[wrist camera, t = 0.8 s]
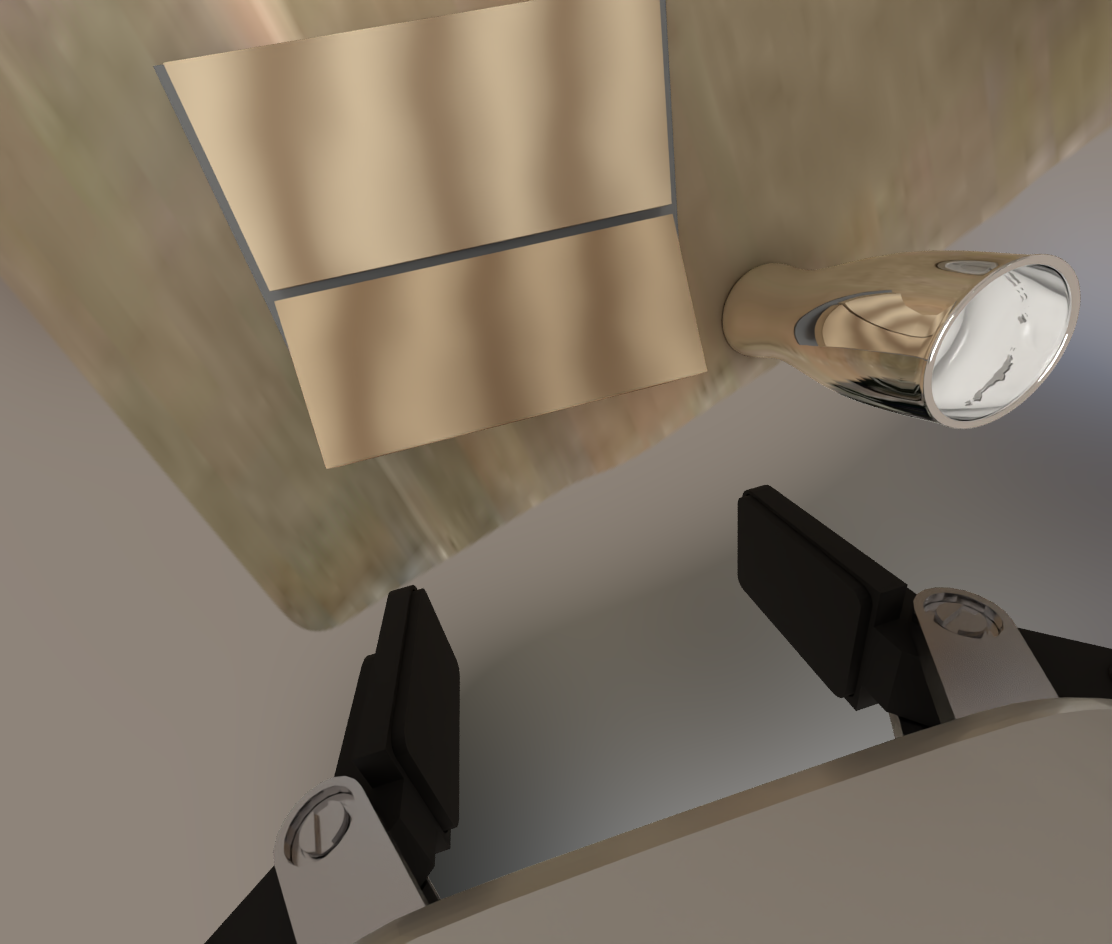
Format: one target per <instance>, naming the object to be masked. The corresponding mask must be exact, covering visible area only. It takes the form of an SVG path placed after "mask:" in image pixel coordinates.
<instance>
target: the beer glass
mask: <svg viewBox="0 0 1112 944" xmlns="http://www.w3.org/2000/svg"><path fill="white" fill-rule="evenodd" d="M1079 309H1080V286H1079V281H1078V278H1077V276H1076V274H1075V272H1074V270H1073V269H1072V267H1071V266H1070V265H1069V264H1068V263H1067V262H1066V261H1064V260H1063V259H1061V258H1059V257H1056V256H1053V255H1048V254H1034V255H1026V254H1010V253H997V252H996V253H995V252H979V251H940V250H931V251H916V252H901V253H894V254H888V255H882V256H876V257H870V258H865V259H861V260H857V261H852V262H848V263H843V264H839V265H835V266H831V267H827V268H822V269H817V270H803V269H799V268H796V267H793V266H790V265H786V264H782V263H767V264H763V265H760V266H757V267H755V268H753V269H751V270H750V271H748V272H747V273H746V274H744V275H743V276H742V277H741V278H740V279H739V280H738V281H737V283H736V284H735V285H734V287H733V288H732V290H731V291H730V293H729V295H728V297H727V300H726V303H725V306H724V310H723V317H722V325H723V331H724V335H725V338H726V340H727V342H728V343H729V345H730V346H731V347H732V348H733V349H734V350H735V351H737V352H738V353H740V354H742V355H745V356H749V357H759V358H776V359H779V360H782V361H784V362H786V363H788V364H789V365H791V366H793V367H794V368H796V369H797V370H799V371H800V372H802V373H803V374H805V375H807V376H808V377H810V378H811V379H813V380H815V381H816V382H818V383H819V384H821V385H823V386H825V387H827V388H829V389H831V390H833V391H834V392H836V393H838V394H840V395H843V396H845V397H848V398H850V399H853V400H856V401H858V402H861V403H863V404H867V405H870V406H873V407H876V408H880V409H883V410H886V411H890V412H894V413H898V414H901V415H905V416H910V417H914V418H918V419H923V420H927V421H931V422H935V423H939V424H942V425H944V426H947V427H951V428H956V429H969V428H975V427H978V426H982V425H985V424H988V423H990V422H993V421H995V420H997V419H999V418H1001V417H1002V416H1004V415H1006V414H1007V413H1009V412H1010V411H1012V410H1013V409H1015V408H1016V407H1017V406H1019V405H1020V404H1021V403H1022V402H1024V401H1025V400H1026V399H1027V398H1028V397H1029V396H1030V395H1031V394H1032V393H1033V392H1034V391H1035V390H1036V389H1037V388H1038V387H1039V386H1040V385H1041V384H1042V383H1043V382H1044V380H1045V379H1046V378H1047V377H1048V376H1049V374H1050V373H1051V371H1052V370H1053V369H1054V367H1055V366H1056V364H1057V363H1058V361H1059V360H1060V358H1061V357H1062V355H1063V353H1064V351H1065V349H1066V348H1067V345H1068V343H1069V341H1070V339H1071V337H1072V334H1073V332H1074V329H1075V326H1076V323H1077V319H1078V314H1079Z"/></svg>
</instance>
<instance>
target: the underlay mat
mask: <svg viewBox="0 0 1112 944" xmlns="http://www.w3.org/2000/svg"><path fill="white" fill-rule="evenodd" d="M660 15H661V32H662V49H663V65H664V82H665V99H666V116H667V133H668V150H669V167H670V184H671V201H672V204H669V205H666V206H662V207H658V208H653V209H649V210H644V211H640V212H635V213H630V214H626V215H621V216H617V217H612V218H608V219H603V220H598V221H594V222H589V223H585V224H580V225H575V226H571V227H566V228H562V229H557V230H552V231H548V232H543V233H539V234H534V235H529V236H525V237H520V238H516V239H511V240H506V241H502V242H497V243H493V244H488V245H484V246H479V247H474V248H470V249H465V250H461V251H456V252H451V253H447V254H442V255H438V256H433V257H428V258H424V259H419V260H415V261H410V262H405V263H401V264H396V265H392V266H387V267H382V268H378V269H373V270H369V271H364V272H360V273H355V274H350V275H346V276H341V277H337V278H332V279H327V280H323V281H318V282H314V283H309V284H304V285H300V286H295V287H291V288H286V289H281V290H275V291H269V289H268V286H267V284H266V282H265V280H264V278H263V276H262V274H261V271H260V269H259V267H258V265H257V263H256V261H255V259H254V256H253V254H252V252H251V250H250V248H249V246H248V244H247V242H246V239H245V237H244V235H243V233H242V231H241V229H240V227H239V224H238V222H237V220H236V218H235V216H234V214H233V212H232V209H231V207H230V205H229V203H228V201H227V199H226V197H225V195H224V192H223V190H222V188H221V186H220V184H219V182H218V180H217V177H216V175H215V173H214V171H213V169H212V167H211V165H210V162H209V160H208V158H207V156H206V154H205V152H204V150H203V148H202V145H201V143H200V141H199V139H198V137H197V135H196V133H195V130H194V128H193V126H192V124H191V122H190V120H189V118H188V115H187V113H186V111H185V109H184V107H183V105H182V103H181V101H180V98H179V96H178V94H177V92H176V90H175V88H174V86H173V83H172V81H171V79H170V77H169V75H168V73H167V71H166V68H165V66H164V64H163V65H157V66H153V67H154V69H155V71H156V73H157V75H158V77H159V80H160V82H161V84H162V86H163V88H164V90H165V92H166V94H167V96H168V98H169V100H170V103H171V105H172V107H173V109H174V111H175V113H176V115H177V117H178V119H179V121H180V123H181V126H182V128H183V130H184V132H185V134H186V136H187V138H188V140H189V142H190V144H191V147H192V149H193V151H194V153H195V155H196V157H197V159H198V161H199V163H200V165H201V167H202V170H203V172H204V174H205V176H206V178H207V180H208V182H209V184H210V186H211V188H212V191H213V193H214V195H215V197H216V199H217V201H218V203H219V205H220V207H221V209H222V211H223V214H224V216H225V218H226V220H227V222H228V224H229V226H230V228H231V230H232V232H233V235H234V237H235V239H236V241H237V243H238V245H239V247H240V249H241V251H242V253H243V255H244V258H245V260H246V262H247V264H248V266H249V268H250V270H251V272H252V274H253V276H254V279H255V281H256V283H257V285H258V287H259V289H260V291H261V293H262V295H263V297H264V299H265V302H266V304H267V306H268V308H269V310H270V312H271V314H272V316H273V318H274V320H275V323H276V325H277V327H278V329H279V331H280V333H281V335H282V337H283V339H284V341H285V343H286V346H287V348H288V350H289V347H288V344H287V341H286V338H285V334H284V331H283V328H282V325H281V322H280V318H279V315H278V312H277V309H276V306H275V302H274V301H278V300H282V299H287V298H292V297H296V296H301V295H305V294H310V293H314V292H319V291H323V290H328V289H332V288H337V287H342V286H346V285H351V284H355V283H360V282H364V281H369V280H373V279H378V278H383V277H387V276H392V275H396V274H401V273H405V272H410V271H414V270H419V269H423V268H428V267H433V266H437V265H442V264H446V263H451V262H455V261H460V260H464V259H469V258H474V257H478V256H483V255H487V254H492V253H496V252H501V251H505V250H510V249H514V248H519V247H524V246H528V245H533V244H537V243H542V242H546V241H551V240H555V239H560V238H565V237H569V236H574V235H578V234H583V233H587V232H592V231H596V230H601V229H605V228H610V227H615V226H619V225H624V224H628V223H633V222H637V221H642V220H646V219H651V218H656V217H660V216H665V215H669V214H673V218H674V222H675V227H676V232H677V236H678V220H677V201H676V183H675V165H674V147H673V128H672V110H671V92H670V73H669V55H668V37H667V19H666V0H660ZM678 241H679V238H678ZM289 352H290V350H289Z"/></svg>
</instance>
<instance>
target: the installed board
mask: <svg viewBox="0 0 1112 944" xmlns="http://www.w3.org/2000/svg"><path fill="white" fill-rule="evenodd" d="M163 64H164V66H165V68H166V71H167V73H168V75H169V77H170V79H171V81H172V83H173V86H174V88H175V90H176V92H177V94H178V96H179V98H180V101H181V103H182V105H183V107H184V109H185V111H186V113H187V115H188V118H189V120H190V122H191V124H192V126H193V128H194V130H195V133H196V135H197V137H198V139H199V141H200V143H201V145H202V148H203V150H204V152H205V154H206V156H207V158H208V160H209V162H210V165H211V167H212V169H213V171H214V173H215V175H216V177H217V180H218V182H219V184H220V186H221V188H222V190H223V192H224V195H225V197H226V199H227V201H228V203H229V205H230V207H231V209H232V212H233V214H234V216H235V218H236V220H237V222H238V224H239V227H240V229H241V231H242V233H243V235H244V237H245V239H246V242H247V244H248V246H249V248H250V250H251V252H252V254H253V256H254V259H255V261H256V263H257V265H258V267H259V269H260V271H261V274H262V276H263V278H264V280H265V282H266V284H267V286H268V289H269V291H275V290H281V289H286V288H291V287H295V286H300V285H304V284H309V283H314V282H318V281H323V280H327V279H332V278H337V277H341V276H346V275H350V274H355V273H360V272H364V271H369V270H373V269H378V268H382V267H387V266H392V265H396V264H401V263H405V262H410V261H415V260H419V259H424V258H428V257H433V256H438V255H442V254H447V253H451V252H456V251H461V250H465V249H470V248H474V247H479V246H484V245H488V244H493V243H497V242H502V241H506V240H511V239H516V238H520V237H525V236H529V235H534V234H539V233H543V232H548V231H552V230H557V229H562V228H566V227H571V226H575V225H580V224H585V223H589V222H594V221H598V220H603V219H608V218H612V217H617V216H621V215H626V214H630V213H635V212H640V211H644V210H649V209H653V208H658V207H662V206H666V205H669V204H672V201H671V184H670V167H669V150H668V133H667V116H666V99H665V82H664V65H663V49H662V32H661V15H660V0H533V1H527V2H521V3H515V4H509V5H503V6H497V7H492V8H486V9H480V10H474V11H468V12H462V13H456V14H450V15H444V16H438V17H432V18H426V19H420V20H414V21H408V22H403V23H397V24H391V25H385V26H379V27H373V28H367V29H361V30H355V31H349V32H343V33H337V34H331V35H325V36H319V37H314V38H308V39H302V40H296V41H290V42H284V43H278V44H272V45H266V46H260V47H254V48H248V49H242V50H236V51H230V52H225V53H219V54H213V55H207V56H201V57H195V58H189V59H183V60H177V61H171V62H165V63H163Z"/></svg>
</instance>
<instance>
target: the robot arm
mask: <svg viewBox="0 0 1112 944" xmlns="http://www.w3.org/2000/svg"><path fill="white" fill-rule="evenodd" d="M738 580H739V583H740V585H741V587H742V588H743V590H744V591H745V592H746V593H747V594H748V595H749V597H750V598H751V599H752V600H753V601H754V602H755V603H756V605H757V606H758V607H759V608H760V609H761V610H762V612H763V613H764V614H765V615H766V616H767V617H768V619H770V621H771V622H772V623H773V624H774V625H775V627H776V628H777V629H778V630H779V631H780V632H781V634H782V635H783V636H784V637H785V638H786V639H787V640H788V642H789V643H790V644H791V645H792V646H793V647H794V648H795V650H796V651H797V652H798V653H799V654H800V655H801V657H802V658H803V659H804V660H805V661H806V662H807V664H808V665H809V666H810V667H811V668H812V669H813V671H814V672H815V673H816V674H817V675H818V676H819V677H820V679H821V680H822V681H823V682H824V683H825V684H826V685H827V687H828V688H829V689H830V690H831V691H832V692H833V693H834V694H835V695H836V696H837V697H840V698H843V697H844V698H845V699H846V700H847V701H848V702H849V703H850V705H851V706H852V707H853V708H854V709H855V710H856V711H857V710H860V709H863V708H866V707H869V706H872V705H875V704H878V703H879V704H880V706H882V708H883V709H884V710H885V711H886V712H888V713H889V717H890V721H891V724H892V729H893V733H894V736H895V739H894V740H890V741H887V742H885V743H882V744H879V745H876V746H873V747H870V748H867V749H864V750H861V751H858V752H855V753H852V754H849V755H847V756H844V757H841V758H838V759H835V760H832V761H829V762H826V763H823V764H821V765H818V766H814V767H811V768H809V769H806V770H803V771H800V772H797V773H794V774H791V775H788V776H786V777H782V778H780V779H777V780H774V781H771V782H768V783H765V784H762V785H759V786H757V787H754V788H751V789H748V790H745V791H742V792H739V793H736V794H734V795H731V796H728V797H725V798H722V799H719V800H716V801H713V802H711V803H708V804H705V805H703V806H699V807H697V808H693V809H691V810H688V811H685V812H682V813H679V814H676V815H673V816H670V817H668V818H665V819H662V820H659V821H656V822H653V823H650V824H648V825H645V826H642V827H639V828H636V829H633V830H631V831H628V832H625V833H622V834H619V835H617V836H614V837H611V838H608V839H605V840H603V841H600V842H597V843H594V844H591V845H589V846H586V847H583V848H580V849H577V850H575V851H572V852H569V853H566V854H563V855H560V856H558V857H555V858H552V859H549V860H546V861H543V862H541V863H538V864H535V865H532V866H529V867H526V868H524V869H521V870H518V871H516V872H513V873H510V874H508V875H505V876H502V877H500V878H497V879H494V880H492V881H489V882H486V883H484V884H481V885H478V886H476V887H473V888H470V889H468V890H465V891H462V892H460V893H457V894H455V895H452V896H449V897H447V898H444V899H440V897H439V895H438V894H437V892H436V890H435V888H434V886H433V885H432V883H431V881H430V879H429V878H428V875H429V874H430V872H431V871H432V869H433V868H434V866H435V854H436V853H439V852H442V851H445V850H448V849H450V835H451V834H450V833H451V829H453V828H455V827H457V826H458V822H459V714H460V711H459V709H460V674H459V667H458V663H457V660H456V658H455V656H454V653H453V651H452V649H451V646H450V644H449V642H448V640H447V638H446V635H445V633H444V631H443V629H442V627H441V625H440V622H439V620H438V617H437V615H436V613H435V611H434V609H433V606H432V604H431V602H430V600H429V597H428V595H427V593H426V591H425V590H424V589H419V590H417V588H416V587H415V586H414V585H411V586H407V587H404V588H400V589H397V590H393V591H391V592H389V595H388V598H387V603H386V608H385V612H384V616H383V621H382V626H381V630H380V635H379V640H378V644H377V648H376V653H375V654H372V655H369V656H367V657H366V658H365V659H364V662H363V664H362V667H361V671H360V675H359V679H358V683H357V687H356V691H355V695H354V699H353V704H352V707H351V711H350V716H349V719H348V724H347V727H346V731H345V735H344V740H343V744H342V748H341V752H340V756H339V760H338V764H337V768H336V772H335V776H334V777H333V778H331V779H328V780H326V781H324V782H321V783H320V784H318V785H317V786H316V787H314V788H313V789H311V790H310V791H308V792H307V793H306V794H305V795H304V796H303V797H302V798H301V799H300V800H299V801H298V802H297V803H296V804H295V806H294V807H293V808H292V810H291V811H290V813H289V814H288V815H287V817H286V818H285V820H284V822H283V824H282V826H281V828H280V830H279V832H278V835H277V838H276V843H275V846H274V851H273V853H274V866H273V867H272V869H271V870H270V871H269V872H268V873H267V874H266V875H265V877H264V878H263V879H262V880H261V881H260V882H259V883H258V884H257V885H256V886H255V888H254V889H253V890H252V891H251V892H250V893H249V895H247V897H246V898H245V899H244V900H243V901H242V902H241V903H240V904H239V906H238V907H237V908H236V909H235V910H234V911H233V912H232V914H230V916H229V917H228V918H227V919H226V920H225V921H224V922H223V923H222V925H221V926H220V927H219V928H218V929H217V930H216V931H215V932H214V934H213V935H212V936H211V937H210V938H209V939H208V940H207V941H206V943H205V944H1112V649H1109V648H1105V647H1101V646H1096V645H1092V644H1087V643H1083V642H1079V641H1074V640H1070V639H1066V638H1061V637H1056V636H1052V635H1048V634H1043V633H1039V632H1035V631H1030V630H1026V629H1021V628H1017V627H1016V625H1015V623H1014V622H1013V620H1012V619H1011V618H1010V617H1009V615H1008V614H1007V613H1006V612H1005V611H1004V610H1003V609H1001V608H1000V607H999V606H997V605H996V604H994V603H993V602H991V601H989V600H987V599H985V598H983V597H981V596H979V595H976V594H973V593H970V592H967V591H964V590H959V589H954V588H944V587H935V588H930V589H925V590H923V591H921V592H920V593H918V594H915V593H914V592H913V591H911V590H910V589H909V588H907V584H906V583H904V582H903V581H902V580H900V579H899V578H897V577H896V576H895V575H893V574H892V573H890V572H889V571H887V570H886V569H885V568H883V567H882V566H880V565H879V564H878V563H877V562H875V561H874V560H872V559H871V558H870V557H868V556H867V555H865V554H864V553H863V552H861V551H860V550H858V549H857V548H856V547H854V546H853V545H852V544H850V543H849V542H847V541H846V540H845V539H843V538H842V537H840V536H839V535H837V534H836V533H835V532H833V531H832V530H831V529H829V528H828V527H827V526H825V525H824V524H822V523H821V522H820V521H818V520H817V519H815V518H814V517H813V516H811V515H810V514H808V513H807V512H806V511H804V510H803V509H801V508H800V507H799V506H797V505H796V504H795V503H793V502H792V501H790V500H789V499H787V498H786V497H784V496H783V495H782V494H781V493H779V492H778V491H776V490H775V489H774V488H772V487H771V486H769V485H763V486H759V487H756V488H753V489H749V490H746V491H744V493H743V496H742V497H741V498H739V500H738Z"/></svg>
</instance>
